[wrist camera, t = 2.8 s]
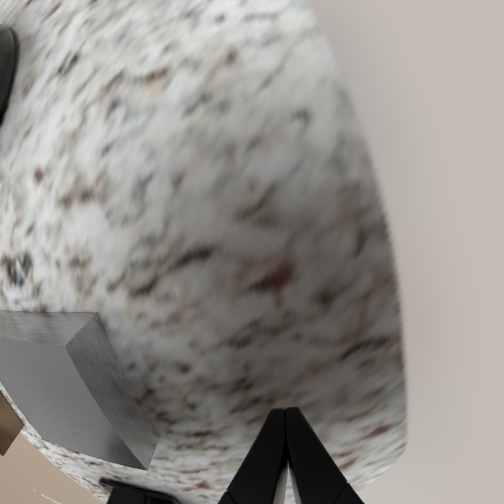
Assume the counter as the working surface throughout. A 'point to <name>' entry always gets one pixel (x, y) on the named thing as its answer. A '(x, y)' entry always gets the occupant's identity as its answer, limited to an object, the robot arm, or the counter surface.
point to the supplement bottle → (5, 63)
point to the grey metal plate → (73, 386)
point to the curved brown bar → (8, 425)
